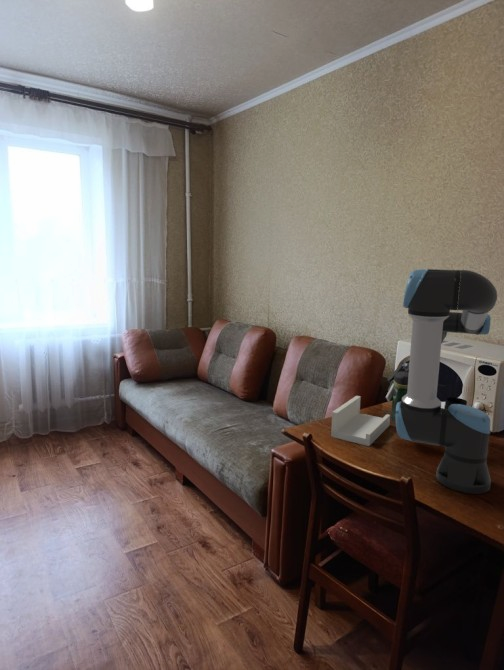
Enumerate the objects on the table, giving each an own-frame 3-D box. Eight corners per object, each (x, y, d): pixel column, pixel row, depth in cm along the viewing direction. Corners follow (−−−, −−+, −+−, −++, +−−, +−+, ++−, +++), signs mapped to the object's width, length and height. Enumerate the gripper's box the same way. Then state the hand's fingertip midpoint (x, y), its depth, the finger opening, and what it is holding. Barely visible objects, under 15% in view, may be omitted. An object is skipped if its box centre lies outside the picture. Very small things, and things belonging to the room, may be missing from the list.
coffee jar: (417, 426, 157) (421, 376, 154) (394, 425, 158) (398, 375, 155) (409, 417, 167) (413, 370, 164) (388, 416, 167) (392, 369, 165)
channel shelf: (369, 446, 159) (370, 420, 157) (330, 436, 167) (332, 411, 165) (389, 425, 180) (391, 402, 179) (354, 417, 188) (356, 395, 187)
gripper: (455, 366, 161) (431, 415, 153) (401, 356, 177) (377, 401, 169) (449, 353, 157) (425, 404, 149) (395, 345, 173) (370, 390, 165)
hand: (399, 402), depth 159 cm, fingers closed on coffee jar, 9 cm apart
